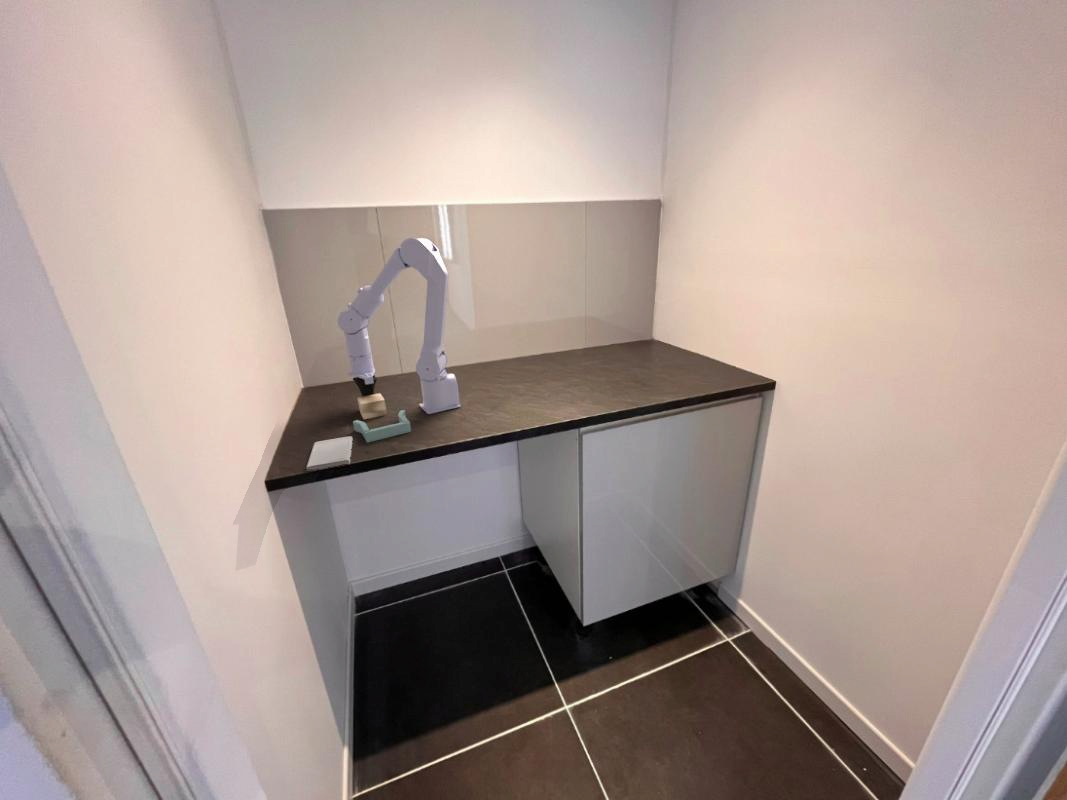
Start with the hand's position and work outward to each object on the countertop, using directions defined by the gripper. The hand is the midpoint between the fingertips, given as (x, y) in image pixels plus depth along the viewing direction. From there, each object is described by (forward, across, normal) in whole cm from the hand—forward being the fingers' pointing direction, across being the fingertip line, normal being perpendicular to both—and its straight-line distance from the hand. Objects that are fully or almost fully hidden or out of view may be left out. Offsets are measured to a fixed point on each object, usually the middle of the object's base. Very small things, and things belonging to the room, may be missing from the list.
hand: (368, 401), depth 117 cm
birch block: (+2, +5, 0) cm, 5 cm away
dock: (+2, +19, 0) cm, 19 cm away
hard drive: (+3, +24, -13) cm, 27 cm away
